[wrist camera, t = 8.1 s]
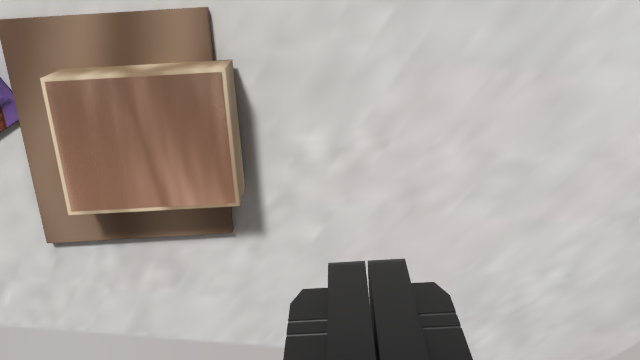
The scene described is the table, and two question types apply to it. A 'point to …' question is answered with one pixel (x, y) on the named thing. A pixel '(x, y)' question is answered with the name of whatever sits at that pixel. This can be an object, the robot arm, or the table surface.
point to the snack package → (7, 107)
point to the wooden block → (146, 136)
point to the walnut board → (86, 52)
